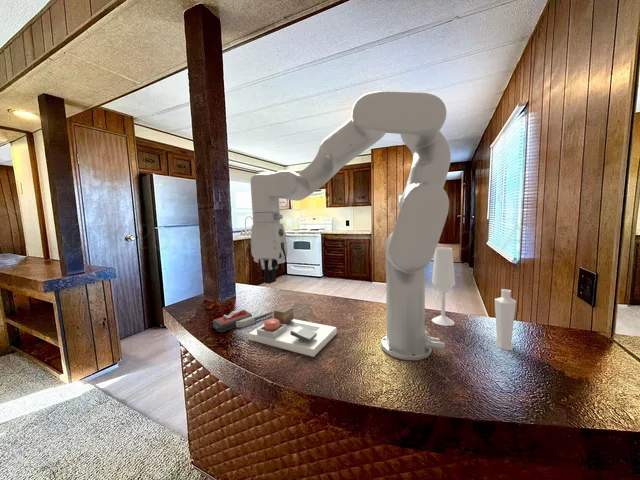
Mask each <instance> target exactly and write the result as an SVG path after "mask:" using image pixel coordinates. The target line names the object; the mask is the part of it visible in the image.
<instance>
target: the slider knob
mask: <svg viewBox="0 0 640 480" xmlns="http://www.w3.org/2000/svg"><path fill="white" fill-rule="evenodd" d="M273 319H278V320H279V323H281V324H287V323H288V322H290V321H291V320H293V319H295V317H294V307H293V306H288V305H281V306H279V307H277V308H276V309H274V310H273Z"/></svg>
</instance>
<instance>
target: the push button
mask: <svg viewBox="0 0 640 480" xmlns="http://www.w3.org/2000/svg"><path fill="white" fill-rule="evenodd" d="M263 325H264V328H265V330H266V331H271V332H273V331H276V330H277V329H279V328H280V324H279V320H278V319H274V318H270V319H267V320H265V321H263Z"/></svg>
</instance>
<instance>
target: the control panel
mask: <svg viewBox="0 0 640 480" xmlns="http://www.w3.org/2000/svg"><path fill="white" fill-rule="evenodd" d="M279 324H280V328H279V329H277V330H276V331H273V332H271V331H266V330H265V328H264V324H262V325H260V326H258V327H257V328H255V329H253V330H252V331H249V333H248V340H249V341H253V342H257V343H260V344H265V345H267V346H272V347H275V348H279V349H283V350H286V351H290V352H293V353H298V354H302V355H306V356H309V357H316V355H317V354H318V353H319V352H321V350H322V349H323V348H324V347H326V345H327V344H328V343H330V341H332V339H333V338H334V337H335V336H336V335H337V331H338V330H337V327H336V326H333V325H332V326H331V325H327V324H323V323H322V324H321V323H316V322H311V321H307V320H306V321H305V320H300V319H295V318H294V319H293V320H291V321H290V322H288V323H287V324H281V323H279ZM297 326H301V327H304V328H306V329H309V330H311V331H314V332H316V333H317V336H316V337H315V338H314V339H313V340H312V341H311V342H306V341H304V340H302V339H299V338H297V337H295V336H292V335H290V334H291V331H292V330H293V329H295V328H296V327H297Z"/></svg>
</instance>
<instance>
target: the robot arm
mask: <svg viewBox="0 0 640 480" xmlns="http://www.w3.org/2000/svg"><path fill="white" fill-rule="evenodd" d="M446 119H447V107H446V104H445V102H444V101H443V99H441V98H440V97H439V96H437V95H435V94H432V93H427V92H412V91H411V92H407V91H385V90H384V91H382V90H381V91H372V92H368V93H365V94H363V95H361V96H360V97H359V98H357V99H356V101H355V103H354V104H353V106H352V111H351V118H349V119H348V120H347V121H346V122H344V123H343V124H342V125H341V126H339V127H338V128H336V129H335V130H334V131H333V132H331V133H330V134H329V135H328V136H326V137H325V138H324V139H323V140H322V142H321V143H320V145H319V147H318V151H317V153H316V155H315V157H314V159H313V160H312V161H311V162H310V163H309V164H308V165H307V166H306V167H305V168H303V169H302V170H301V171H299V172H298V173H296V172H295V171H293V170H287V169H284V170H279V171H276V172H272V173H256V174H253V175H252V176H251V177H250V193H251V194H250V195H251V196H250V197H251V208H252V209H251V211H252V213H251V214H252V225H251V233H250V249H251V250H250V252H251V256H252V257H253V261H254V262H255V263H258V264H259V265H260V267H261V269H262V270H263V276H264V279H263V281H264V284H269V285H271V284H273V283H275V282H277V272H276V271H277V270H276V269H277V268H278V266H279V265H280V264H284V263H285V262H286V257H288V251H289V250H288V244H287V235H286V230H285V227H284V223H281V220H283V217H284V216H283V214H282V213H281V212H280V200H281V199H282V200H289V201H302V200H304V199H306V198H307V197H309V196H310V195H312V194H313V193H315V192H316V191H318V190H319V189H321V187H323V186H324V185H325V184H326V183H328V182H329V181H330V180H331V179H332V178H333V177H334V176H336V175H337V173H338V172H339V171H340V170H341V169H342V168H343V167H345V166H346V165H347V164H349V163H350V162H352V161H353V160H354V159H356V158H357V157H359V155H361V154H362V153H364V152H365V151H366V150H368V149H369V148H372V146H374V145H375V144H376V143H377V142H378V141H380V140H381V139H382V138H383V137H384V136H385V135H386V134H395V135H398V134H399V135H400V139H401V140H402V143H404V145H405V146H406V147H407V148H408V149H409V150H410V152H411V155H412V163H411V167H410V171H409V175H408V178H407V181H406V184H405V187H404V190H403V193H402V195H401V197H400V200H399V201H398V202H399V203H398V208H399V210H398V214H397V218H396V222H395V224H394V227H393V230H392V232H391V233H390V234H389V235H388V237H387V239H386V241H385V245H384V246H385V247H384V252H385V253H384V255H385V284H386V288H385V292H386V293H385V295H386V297H385V298H386V301H385V302H386V304H385V305H386V309H385V310H386V335H385V336H383V337H382V338H381V340H380V345H381V349H382V351H384V353H386V354H387V355H389V356H391V357H393V358H396V359H400V360H404V361H420V360H421V361H422V360H425V359H426V358H428V357H429V356H431V355H432V349H434V350H436V351H441V352H445V342H442V341H440V338H438V337H431V336H430V335H428V330H427V329H426V274H425V272H426V271H425V269H426V268H427V266H428V265H429V264H430V263H431V262H432V259H433V257H434V256H435V250H436V248H438V245H439V241H440V238H441V235H442V232H443V230H444V227H445V224H446V220H447V217H448V214H449V207H450V201H449V196H448V194H447V191H446V190H445V189H444V188H445V187H444V186H445V184H446V181H447V178H448V174H449V169H450V165H451V160H452V159H451V158H452V157H451V156H452V155H451V149H450V146H449V143H448V141H447V139H446V137H445V135H444V134H443V133H442V132H441V129H442V128H443V125H445V122H446ZM279 199H280V200H279Z"/></svg>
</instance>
